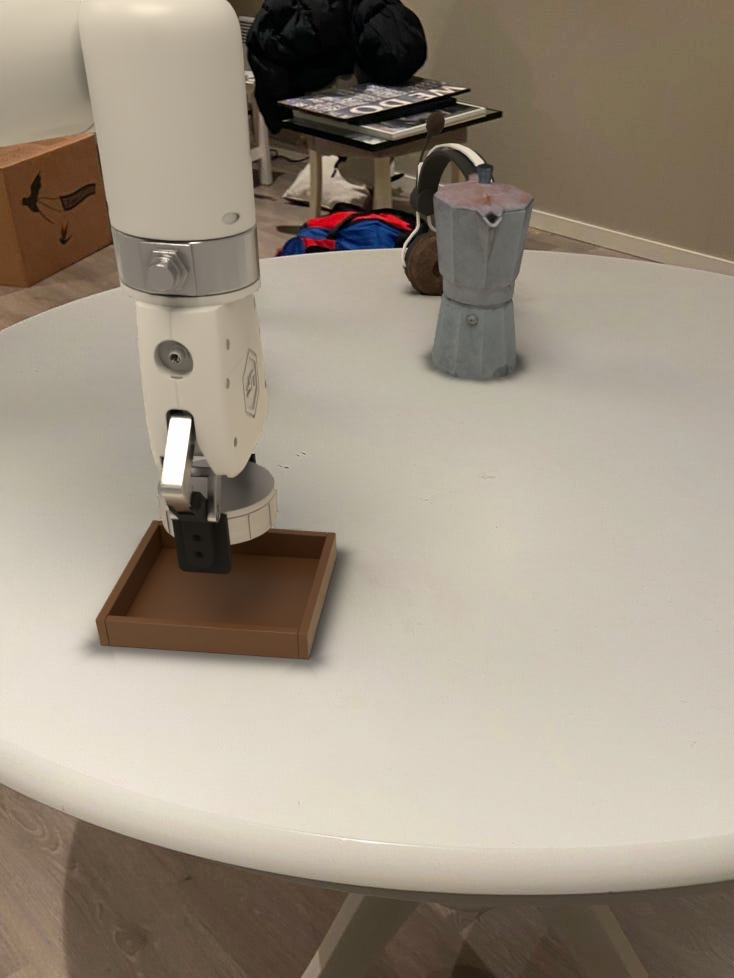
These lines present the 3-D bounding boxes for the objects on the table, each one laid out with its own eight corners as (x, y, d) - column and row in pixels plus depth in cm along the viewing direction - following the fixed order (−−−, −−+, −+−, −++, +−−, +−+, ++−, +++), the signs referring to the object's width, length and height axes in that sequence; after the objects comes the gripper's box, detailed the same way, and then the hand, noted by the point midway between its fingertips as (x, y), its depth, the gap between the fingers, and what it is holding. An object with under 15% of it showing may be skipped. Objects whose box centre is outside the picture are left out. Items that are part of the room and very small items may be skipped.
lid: (286, 493, 66) (284, 461, 65) (264, 550, 61) (261, 516, 59) (180, 486, 66) (175, 454, 65) (148, 542, 61) (142, 508, 59)
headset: (386, 287, 122) (387, 106, 110) (439, 279, 126) (446, 103, 113) (460, 333, 111) (471, 138, 99) (516, 324, 115) (533, 134, 102)
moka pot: (438, 398, 97) (447, 179, 85) (414, 339, 109) (419, 140, 96) (532, 395, 99) (554, 181, 87) (499, 338, 111) (513, 142, 98)
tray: (101, 652, 63) (94, 619, 61) (157, 550, 73) (152, 519, 71) (308, 666, 63) (307, 634, 61) (337, 562, 73) (336, 532, 71)
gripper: (219, 317, 47) (250, 619, 58) (287, 220, 61) (302, 477, 71) (60, 306, 47) (121, 610, 57) (165, 211, 61) (198, 471, 71)
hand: (221, 535), depth 64 cm, fingers closed on lid, 7 cm apart
